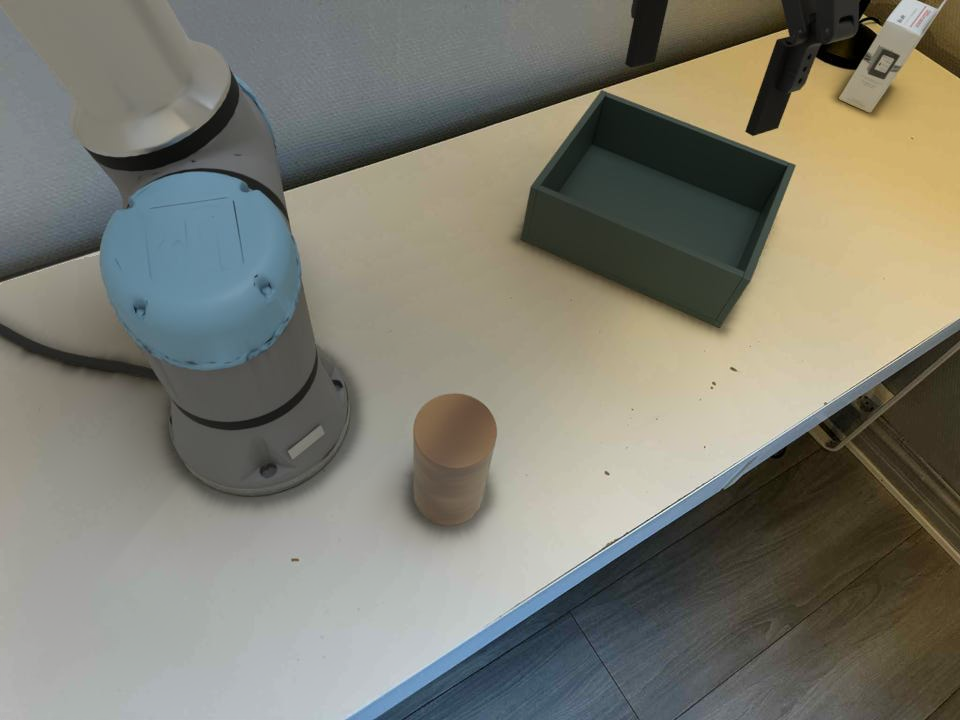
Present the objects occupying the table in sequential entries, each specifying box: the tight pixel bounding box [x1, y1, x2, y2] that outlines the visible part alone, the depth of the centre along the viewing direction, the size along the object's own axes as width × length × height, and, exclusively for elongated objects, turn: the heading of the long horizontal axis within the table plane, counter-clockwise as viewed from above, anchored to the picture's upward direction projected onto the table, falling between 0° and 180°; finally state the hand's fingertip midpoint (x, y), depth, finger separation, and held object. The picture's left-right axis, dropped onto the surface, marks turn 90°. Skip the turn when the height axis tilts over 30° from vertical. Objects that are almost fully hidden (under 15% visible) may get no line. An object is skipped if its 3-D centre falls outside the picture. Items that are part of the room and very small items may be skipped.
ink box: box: [838, 0, 948, 113], centre depth 90 cm, size 9×5×15 cm, turn 143°
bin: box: [520, 89, 797, 328], centre depth 74 cm, size 24×20×8 cm
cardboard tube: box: [412, 392, 498, 527], centre depth 52 cm, size 6×6×12 cm
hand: (696, 94), depth 53 cm, fingers open, 13 cm apart
